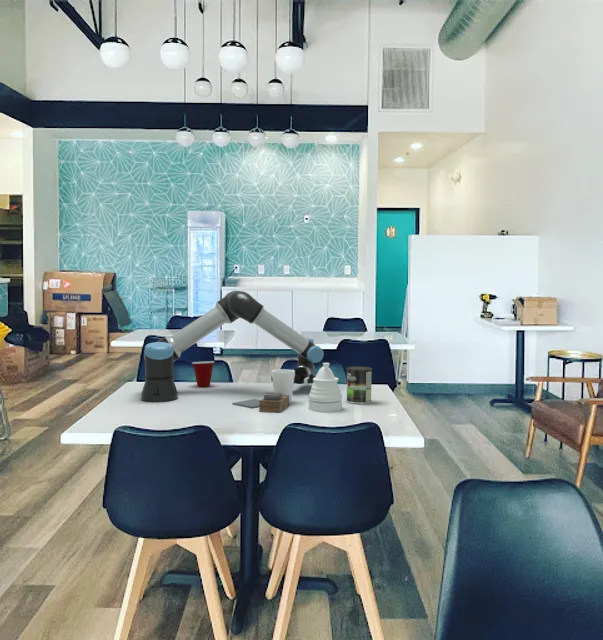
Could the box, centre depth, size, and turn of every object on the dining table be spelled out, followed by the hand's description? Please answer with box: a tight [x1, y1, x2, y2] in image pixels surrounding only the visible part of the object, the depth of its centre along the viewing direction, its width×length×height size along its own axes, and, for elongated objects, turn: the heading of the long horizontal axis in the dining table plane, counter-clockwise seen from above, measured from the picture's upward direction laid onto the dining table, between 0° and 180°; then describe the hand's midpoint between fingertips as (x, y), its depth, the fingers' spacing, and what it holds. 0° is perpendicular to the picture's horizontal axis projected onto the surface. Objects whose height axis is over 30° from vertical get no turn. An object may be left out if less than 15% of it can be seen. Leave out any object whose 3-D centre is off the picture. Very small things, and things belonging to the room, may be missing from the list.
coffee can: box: [346, 365, 373, 405], centre depth 251 cm, size 10×10×14 cm
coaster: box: [232, 398, 261, 409], centre depth 247 cm, size 12×12×1 cm
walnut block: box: [258, 392, 290, 413], centre depth 238 cm, size 14×8×6 cm, turn 167°
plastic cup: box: [191, 360, 215, 388], centre depth 292 cm, size 11×11×12 cm
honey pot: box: [308, 362, 343, 413], centre depth 237 cm, size 13×13×18 cm
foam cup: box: [271, 368, 295, 404], centre depth 251 cm, size 10×9×13 cm
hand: (289, 381), depth 259 cm, fingers open, 13 cm apart
